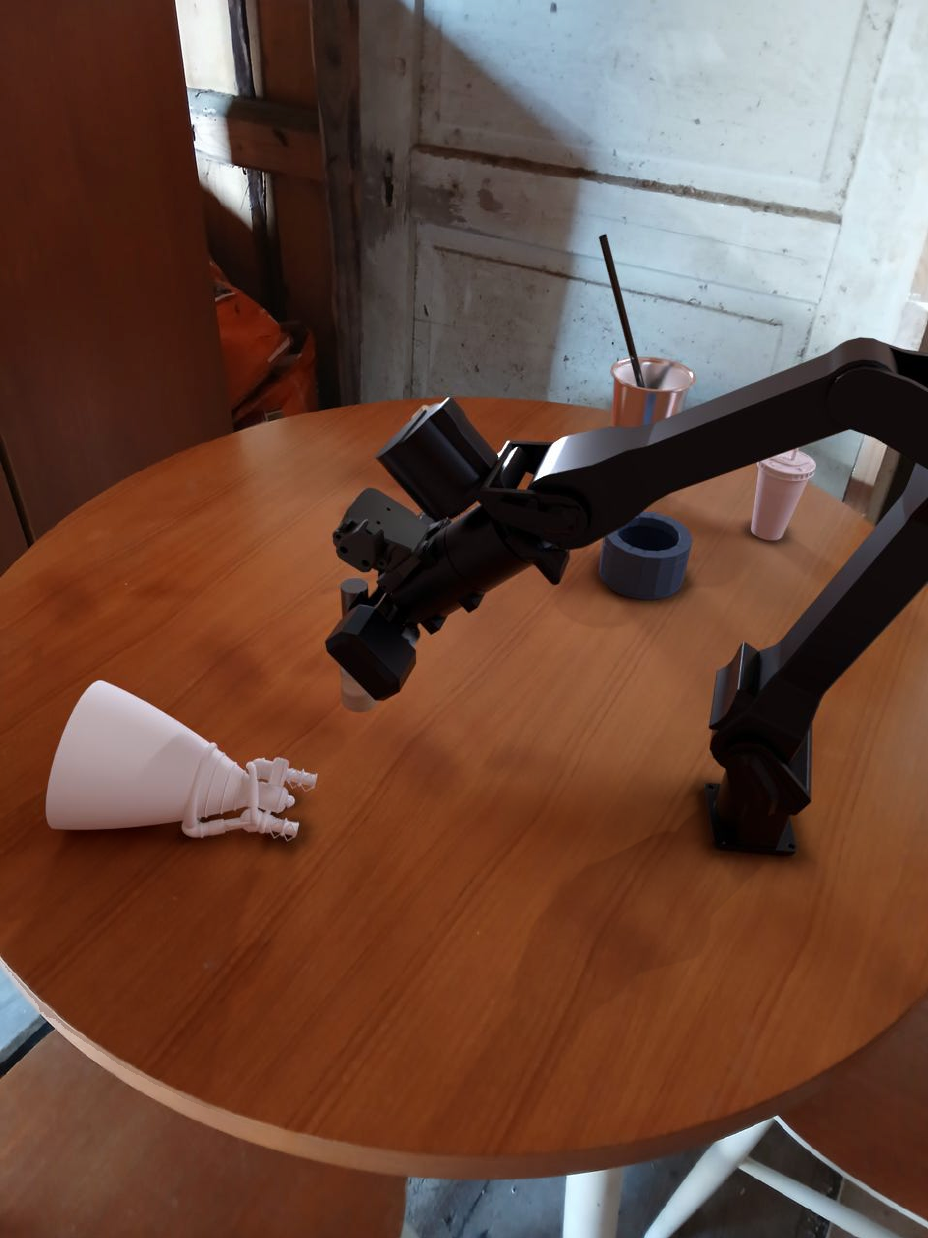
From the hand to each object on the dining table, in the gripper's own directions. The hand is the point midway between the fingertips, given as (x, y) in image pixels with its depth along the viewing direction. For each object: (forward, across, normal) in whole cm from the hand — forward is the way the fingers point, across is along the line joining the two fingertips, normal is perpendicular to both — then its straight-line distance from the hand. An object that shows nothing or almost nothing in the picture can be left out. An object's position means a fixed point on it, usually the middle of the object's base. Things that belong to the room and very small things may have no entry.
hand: (342, 638), depth 76 cm
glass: (-5, -51, +18) cm, 55 cm away
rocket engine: (+12, +16, +2) cm, 19 cm away
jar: (-9, -32, +22) cm, 39 cm away
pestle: (+4, 0, +6) cm, 7 cm away
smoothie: (-18, -46, +31) cm, 58 cm away
